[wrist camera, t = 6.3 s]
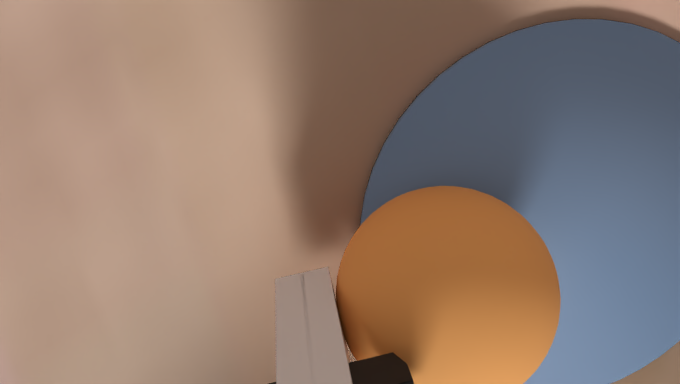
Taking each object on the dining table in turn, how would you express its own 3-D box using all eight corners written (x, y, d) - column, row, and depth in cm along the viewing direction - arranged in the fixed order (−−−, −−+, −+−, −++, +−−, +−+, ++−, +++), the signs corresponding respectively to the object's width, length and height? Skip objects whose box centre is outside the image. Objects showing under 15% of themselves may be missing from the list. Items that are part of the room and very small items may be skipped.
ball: (289, 199, 16) (469, 142, 18) (334, 368, 18) (494, 305, 19) (358, 275, 11) (603, 187, 12) (412, 500, 13) (621, 403, 14)
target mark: (759, -21, 16) (765, -22, 16) (744, 352, 20) (748, 356, 20) (323, 68, 16) (324, 68, 16) (394, 430, 20) (395, 435, 20)
